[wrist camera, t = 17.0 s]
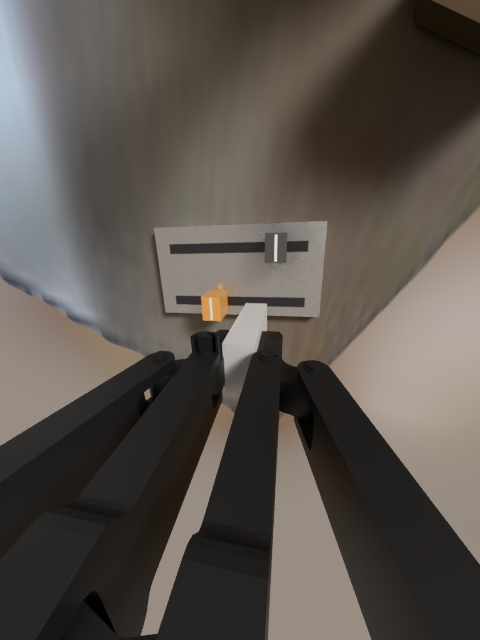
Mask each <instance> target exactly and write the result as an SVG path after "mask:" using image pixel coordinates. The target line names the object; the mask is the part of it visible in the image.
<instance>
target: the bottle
mask: <svg viewBox="0 0 480 640" xmlns="http://www.w3.org/2000/svg"><path fill="white" fill-rule="evenodd" d="M414 20H415V21H416V23H417V25H419V26H421V27H424V28H426V29H428V30H430V31H432V32H434V33H436V34H438V35H440V36H442V37H444V38H446V39H449V40H451V41H453V42H455V43H457V44H459V45H461V46H463V47H465V48H467V49H469V50H472V51H474V52H476V53H478V54H480V0H418V2H417V6H416V10H415V15H414Z"/></svg>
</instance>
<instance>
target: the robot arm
mask: <svg viewBox="0 0 480 640" xmlns="http://www.w3.org/2000/svg"><path fill="white" fill-rule="evenodd" d="M282 339H283V335H282V334H281V333H280V332H273V331H267V304H264V303H246V304H245V305H244V307H243V309H242V310H241V312H240V314H239V316H238V317H237V319H236V321H235V322H234V324H233V326H232V327H231V329H230V330H219V331H217V332H215V333H214V332H209V331H204V332H198V333H195V334H193V335H192V336H191V345H192V353H191V354H190V356H189V357H188V358H187V359H180V360H175V357H174V354H173V353H171V352H168V351H158V352H156V353H153V354H150V355H148V356H147V357H145V358H143V359H142V360H140V361H139V362H137V363H136V364H134V365H132V366H130V367H129V368H127V369H125V370H124V371H122V372H121V373H119V374H117V375H116V376H114V377H112V378H111V379H109V380H107V381H106V382H104V383H103V384H101V385H99V386H98V387H96V388H95V389H93V390H91V391H89V392H88V393H86V394H84V395H83V396H81V397H80V398H78V399H76V400H75V401H73V402H71V403H70V404H68V405H66V406H65V407H63V408H62V409H60V410H58V411H57V412H55V413H53V414H52V415H50V416H49V417H47V418H45V419H44V420H42V421H40V422H39V423H37V424H35V425H34V426H32V427H30V428H29V429H27V430H26V431H24V432H22V433H21V434H19V435H17V436H16V437H14V438H13V439H11V440H9V441H8V442H6V443H5V444H3V445H1V446H0V640H268V623H269V622H268V621H269V601H270V583H271V582H270V581H271V563H272V544H273V524H274V505H275V484H276V466H277V446H278V427H279V411H282V412H284V413H287V414H290V415H293V416H294V422H295V425H296V428H297V430H298V433H299V436H300V439H301V442H302V444H303V447H304V450H305V453H306V456H307V459H308V461H309V464H310V467H311V470H312V473H313V475H314V478H315V481H316V484H317V487H318V490H319V492H320V495H321V498H322V501H323V504H324V507H325V509H326V512H327V515H328V518H329V521H330V523H331V526H332V529H333V532H334V535H335V538H336V540H337V543H338V546H339V549H340V552H341V555H342V557H343V560H344V563H345V566H346V569H347V571H348V574H349V577H350V580H351V583H352V586H353V589H354V591H355V594H356V597H357V599H358V603H359V605H360V608H361V611H362V614H363V617H364V620H365V623H366V625H367V628H368V631H369V634H370V637H371V639H372V640H480V564H479V563H478V562H477V561H476V559H475V558H474V557H473V555H472V554H471V553H470V551H469V550H468V549H467V547H466V546H465V545H464V543H463V542H462V541H461V540H460V538H459V537H458V535H457V534H456V533H455V532H454V530H453V529H452V528H451V526H450V525H449V524H448V522H447V521H446V520H445V518H444V517H443V516H442V515H441V513H440V512H439V511H438V509H437V508H436V507H435V505H434V504H433V503H432V501H431V500H430V499H429V497H428V496H427V495H426V493H425V492H424V491H423V490H422V488H421V487H420V486H419V484H418V483H417V482H416V480H415V479H414V478H413V476H412V475H411V474H410V472H409V471H408V470H407V468H406V467H405V466H404V464H403V463H402V462H401V461H400V459H399V458H398V457H397V455H396V454H395V453H394V452H393V450H392V449H391V447H390V446H389V445H388V444H387V442H386V441H385V439H384V438H383V437H382V436H381V434H380V433H379V432H378V430H377V429H376V428H375V426H374V425H373V424H372V423H371V421H370V420H369V418H368V417H367V416H366V415H365V413H364V412H363V411H362V409H361V408H360V407H359V405H358V404H357V403H356V401H355V400H354V399H353V397H352V396H351V395H350V393H349V392H348V391H347V390H346V388H345V387H344V386H343V384H342V383H341V382H340V380H339V379H338V378H337V376H336V375H335V374H334V372H333V371H332V370H331V369H330V367H328V366H327V365H326V364H324V363H322V362H319V361H315V360H312V361H311V360H308V361H303V362H301V363H299V364H298V366H297V367H294V366H291V365H289V364H287V363H285V362H284V361H283V360H282ZM224 385H225V394H234V395H240V398H239V401H238V404H237V408H236V411H235V414H234V418H233V421H232V425H231V428H230V431H229V435H228V438H227V442H226V445H225V449H224V452H223V455H222V459H221V462H220V465H219V469H218V472H217V475H216V479H215V482H214V486H213V490H212V492H211V496H210V499H209V503H208V506H207V509H206V513H205V516H204V519H203V522H202V525H201V528H200V530H199V532H198V533H196V534H194V535H192V537H191V539H190V541H189V542H188V544H187V547H186V550H185V552H184V555H183V558H182V561H181V564H180V567H179V570H178V573H177V576H176V579H175V582H174V585H173V588H172V591H171V595H170V597H169V601H168V604H167V607H166V610H165V613H164V616H163V619H162V622H161V625H160V628H159V632H158V634H152V635H145V636H140V635H141V632H142V629H143V625H144V621H145V617H146V613H147V606H148V599H149V592H150V588H151V585H152V582H153V579H154V576H155V573H156V571H157V568H158V566H159V563H160V560H161V558H162V555H163V553H164V550H165V547H166V545H167V542H168V540H169V537H170V534H171V532H172V529H173V527H174V524H175V521H176V519H177V516H178V514H179V511H180V508H181V506H182V503H183V500H184V498H185V495H186V493H187V490H188V488H189V485H190V483H191V480H192V477H193V475H194V472H195V470H196V467H197V464H198V462H199V459H200V456H201V454H202V451H203V449H204V446H205V443H206V441H207V438H208V436H209V433H210V430H211V428H212V425H213V423H214V420H215V418H216V415H217V412H218V410H219V407H220V405H221V402H222V389H223V387H224ZM147 389H150V393H151V397H150V398H149V399H148V400H146V399H145V396H144V392H145V391H146V390H147Z"/></svg>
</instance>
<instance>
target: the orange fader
mask: <svg viewBox="0 0 480 640" xmlns="http://www.w3.org/2000/svg"><path fill="white" fill-rule="evenodd" d="M201 303H202V315H203V321H222V319H223V318H224V317H225V315H226V314H227V313H228V299H227V290H210V291H208V292H207V293H205V294H204V295H202V296H201Z"/></svg>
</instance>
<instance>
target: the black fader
mask: <svg viewBox="0 0 480 640" xmlns="http://www.w3.org/2000/svg"><path fill="white" fill-rule="evenodd" d="M286 258H287V232H285V233H265V263H286Z"/></svg>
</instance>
